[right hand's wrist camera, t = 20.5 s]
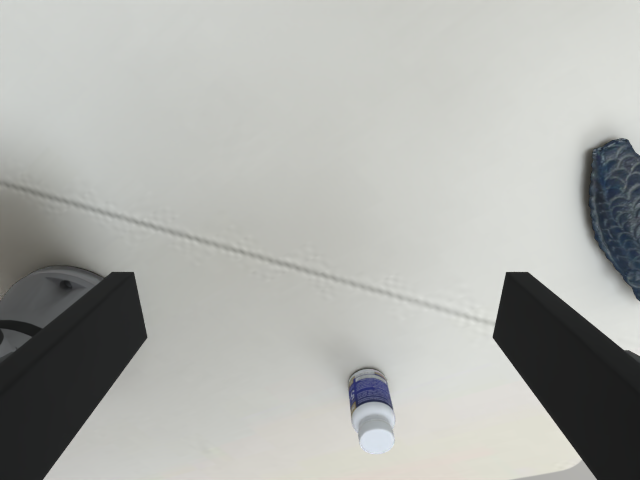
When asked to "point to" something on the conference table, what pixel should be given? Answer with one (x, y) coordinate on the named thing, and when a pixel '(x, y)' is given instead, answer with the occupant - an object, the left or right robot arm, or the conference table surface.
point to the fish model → (617, 207)
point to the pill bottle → (372, 411)
